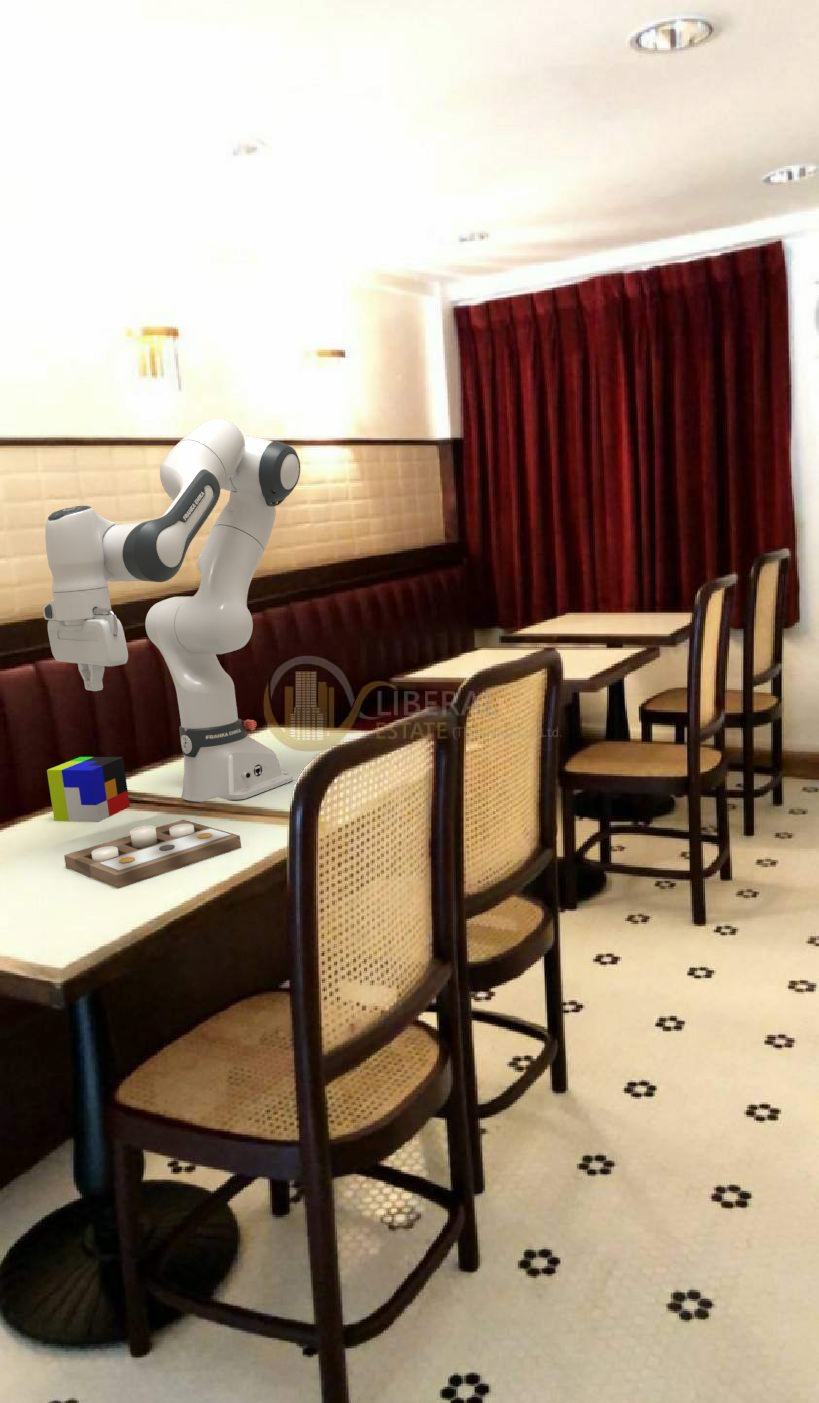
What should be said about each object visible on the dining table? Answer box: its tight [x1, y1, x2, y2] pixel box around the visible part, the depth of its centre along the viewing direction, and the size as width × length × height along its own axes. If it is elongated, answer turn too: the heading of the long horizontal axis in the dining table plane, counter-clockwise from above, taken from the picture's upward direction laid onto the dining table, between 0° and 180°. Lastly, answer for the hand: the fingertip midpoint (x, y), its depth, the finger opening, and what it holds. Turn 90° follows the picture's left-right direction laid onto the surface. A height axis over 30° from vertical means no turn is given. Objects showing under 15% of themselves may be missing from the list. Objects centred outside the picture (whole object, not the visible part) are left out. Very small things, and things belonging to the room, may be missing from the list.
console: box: [63, 819, 242, 889], centre depth 174 cm, size 22×17×4 cm
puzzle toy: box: [46, 756, 131, 823], centre depth 208 cm, size 10×10×10 cm
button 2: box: [169, 824, 194, 838], centre depth 181 cm, size 4×4×2 cm
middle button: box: [129, 825, 157, 848], centre depth 176 cm, size 4×4×2 cm
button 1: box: [91, 846, 119, 862], centre depth 171 cm, size 4×4×2 cm
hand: (94, 690), depth 181 cm, fingers closed
